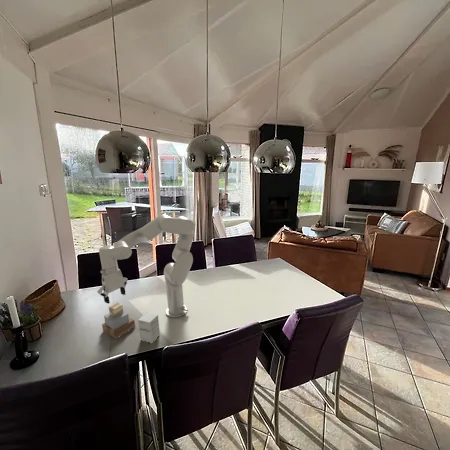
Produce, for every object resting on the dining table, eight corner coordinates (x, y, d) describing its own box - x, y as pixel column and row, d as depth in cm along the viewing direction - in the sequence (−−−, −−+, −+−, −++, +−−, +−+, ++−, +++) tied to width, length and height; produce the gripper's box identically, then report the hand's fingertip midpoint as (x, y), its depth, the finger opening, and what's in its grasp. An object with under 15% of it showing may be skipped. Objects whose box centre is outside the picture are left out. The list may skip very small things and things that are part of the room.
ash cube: (123, 312, 142) (122, 304, 141) (115, 317, 138) (114, 309, 137) (117, 310, 145) (116, 302, 144) (109, 314, 141) (108, 306, 140)
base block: (135, 327, 145) (134, 319, 144) (116, 339, 136) (115, 331, 134) (122, 321, 152) (121, 313, 151) (103, 332, 142) (102, 324, 141)
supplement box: (140, 341, 134) (137, 319, 130) (149, 332, 140) (146, 311, 137) (152, 344, 131) (149, 322, 128) (160, 335, 138) (158, 314, 135)
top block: (129, 321, 142) (128, 313, 141) (113, 330, 136) (112, 321, 135) (120, 316, 148) (119, 308, 147) (105, 323, 141) (104, 315, 140)
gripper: (99, 277, 126) (105, 308, 130) (128, 264, 140) (133, 292, 144) (90, 274, 130) (96, 304, 134) (120, 262, 144) (124, 289, 148)
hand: (115, 298), depth 139 cm, fingers open, 9 cm apart
